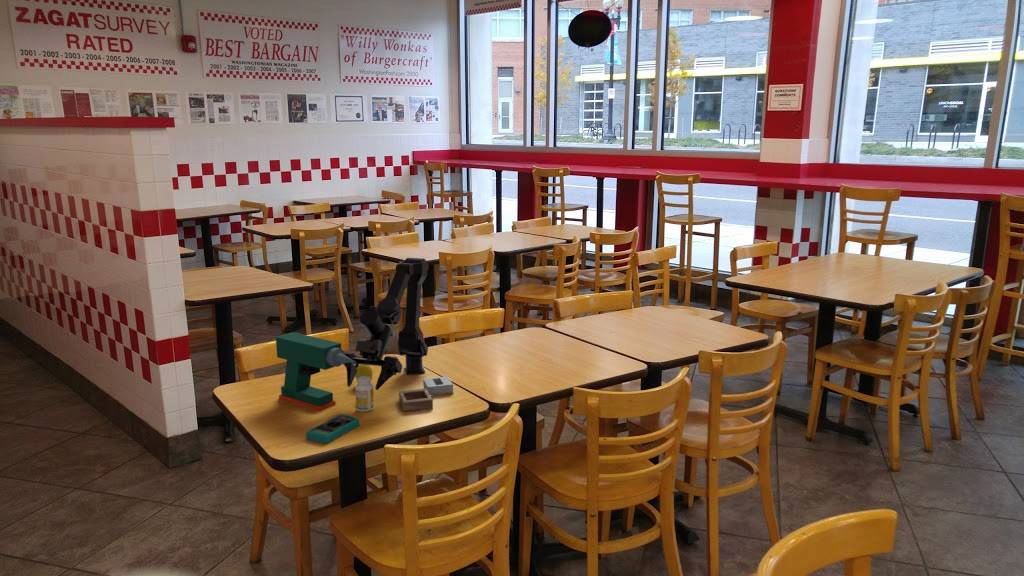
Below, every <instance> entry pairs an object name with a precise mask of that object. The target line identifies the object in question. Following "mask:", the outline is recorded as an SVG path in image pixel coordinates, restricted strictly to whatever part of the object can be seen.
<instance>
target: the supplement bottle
mask: <svg viewBox="0 0 1024 576" xmlns="http://www.w3.org/2000/svg"><path fill="white" fill-rule="evenodd" d="M356 382H357V384H356V385H355V389H354V391H355V392H354V393H355V395H354V396H355V409H356V410H357V411H358V412H360V413H361V412H362V413H364V412H365V413H366V412H370V411H373V410H374V408H375V397H374V396H375V395H374V394H375V393H374V385H373V384H372V383H371V382H372V379H371V378H370V377H368V376H362V377H358V378H357V380H356Z"/></svg>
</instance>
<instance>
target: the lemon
mask: <svg viewBox="0 0 1024 576" xmlns="http://www.w3.org/2000/svg"><path fill="white" fill-rule="evenodd" d="M356 369H357V370H358V371H357V373H356V375H355V380H356V381H357V378H358V377H362V376H368V377H370V378H371V380H372V379H373V369H372V365H363V364H359V366H358V367H357V368H356Z"/></svg>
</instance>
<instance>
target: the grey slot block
mask: <svg viewBox="0 0 1024 576" xmlns="http://www.w3.org/2000/svg"><path fill="white" fill-rule="evenodd" d="M422 381H423V382H422V383H423V385H422V386H423V387H424V388H423V389H427V391H428V392H429V394H430V395H434V396H437V395H436V394H443V395H447V394H446V393H452V394H454V384H453V383H452V381H451V379H450V378H449V376H439V377H429V378H423V379H422Z"/></svg>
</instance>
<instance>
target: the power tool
mask: <svg viewBox="0 0 1024 576" xmlns="http://www.w3.org/2000/svg"><path fill="white" fill-rule="evenodd" d="M275 346H276V357H277V358H279V359H282V360H286V362H285V363H286V364H285V374H284V382H283V385H281V386H280V392H281V394H278V398H279V399H280V400H283V401H286V402H289V403H293V404H295V405H298V406H302V407H306V408H308V409H312V410H315V411H318V412H319V411H320V412H321V411H323V410H325V409H328V408H330V407H333V406H335V405H337V401H336V400H334V395H333V392H331V391H329V390H324V389H320V388H317V387H313V386H311V378H312V376H313V375H315V374H318V373H321V370H324V371H326V370H329V369H332V368H335V367H336V368H337V367H340V366H342V365H343V363H354V362H355V361H354V360H352V359H350V358H349V357H347V356H345V353H344V352H345V351H344V350H343V349H342V343H341V342H336V341H332V340H328V339H324V338H320V337H315V336H312V335H307V334H302V333H299V332H298V333H297V332H294V331H293V332H289V333H286V334H282V335H277V336H275ZM334 404H335V405H334ZM332 405H333V406H332Z"/></svg>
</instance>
